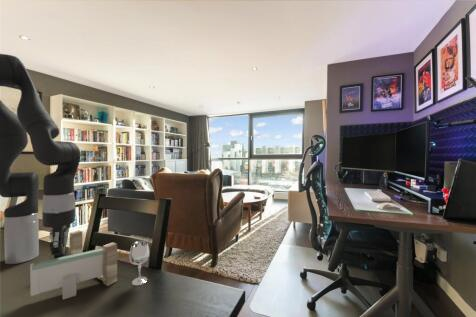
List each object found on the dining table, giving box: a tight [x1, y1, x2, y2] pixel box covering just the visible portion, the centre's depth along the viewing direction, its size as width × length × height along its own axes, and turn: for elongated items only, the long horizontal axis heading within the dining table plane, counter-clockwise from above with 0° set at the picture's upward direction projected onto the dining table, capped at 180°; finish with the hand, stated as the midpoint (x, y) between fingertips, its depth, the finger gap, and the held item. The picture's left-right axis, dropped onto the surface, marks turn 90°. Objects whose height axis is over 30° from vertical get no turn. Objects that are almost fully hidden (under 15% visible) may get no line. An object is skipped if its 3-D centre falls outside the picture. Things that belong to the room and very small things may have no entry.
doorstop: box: [61, 274, 77, 300], centre depth 61 cm, size 3×3×5 cm
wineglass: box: [129, 240, 150, 286], centre depth 68 cm, size 6×6×12 cm
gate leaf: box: [29, 247, 103, 297], centre depth 63 cm, size 18×2×8 cm, turn 126°
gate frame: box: [69, 230, 118, 287], centre depth 72 cm, size 24×3×12 cm, turn 61°
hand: (59, 264), depth 64 cm, fingers closed
